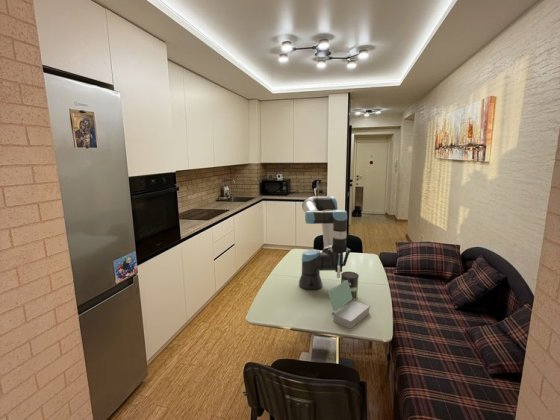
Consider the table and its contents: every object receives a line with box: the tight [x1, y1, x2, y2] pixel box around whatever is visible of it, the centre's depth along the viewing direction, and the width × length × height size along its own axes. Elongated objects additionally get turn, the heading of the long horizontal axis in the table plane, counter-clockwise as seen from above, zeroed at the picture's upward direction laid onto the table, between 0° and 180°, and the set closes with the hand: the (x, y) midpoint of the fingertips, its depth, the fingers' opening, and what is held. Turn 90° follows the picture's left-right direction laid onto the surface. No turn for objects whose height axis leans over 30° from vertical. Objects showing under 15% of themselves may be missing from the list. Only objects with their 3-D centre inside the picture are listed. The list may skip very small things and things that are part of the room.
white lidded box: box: [331, 298, 370, 329], centre depth 161 cm, size 10×21×5 cm, turn 138°
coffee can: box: [340, 271, 360, 301], centre depth 183 cm, size 10×10×14 cm
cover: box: [327, 280, 353, 312], centre depth 164 cm, size 11×19×1 cm
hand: (338, 277), depth 175 cm, fingers closed
